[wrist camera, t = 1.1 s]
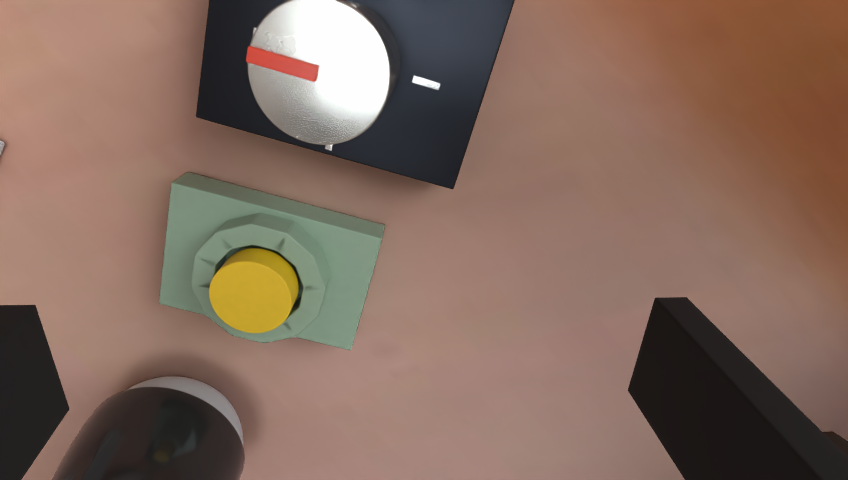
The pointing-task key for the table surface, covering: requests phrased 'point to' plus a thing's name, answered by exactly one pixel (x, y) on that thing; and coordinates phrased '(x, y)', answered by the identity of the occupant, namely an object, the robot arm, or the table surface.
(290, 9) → the dial
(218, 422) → the pump dispenser
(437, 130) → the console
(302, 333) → the button box
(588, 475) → the table surface
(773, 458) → the robot arm
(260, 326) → the button
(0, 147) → the small box
